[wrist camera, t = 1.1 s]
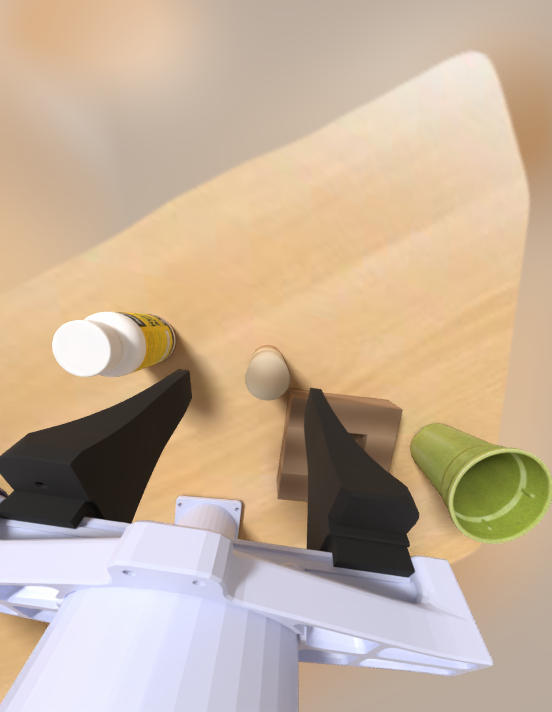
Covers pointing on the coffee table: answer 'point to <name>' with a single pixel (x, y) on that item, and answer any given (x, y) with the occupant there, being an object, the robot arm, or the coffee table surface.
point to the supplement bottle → (113, 343)
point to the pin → (267, 374)
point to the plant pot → (484, 483)
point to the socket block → (359, 417)
